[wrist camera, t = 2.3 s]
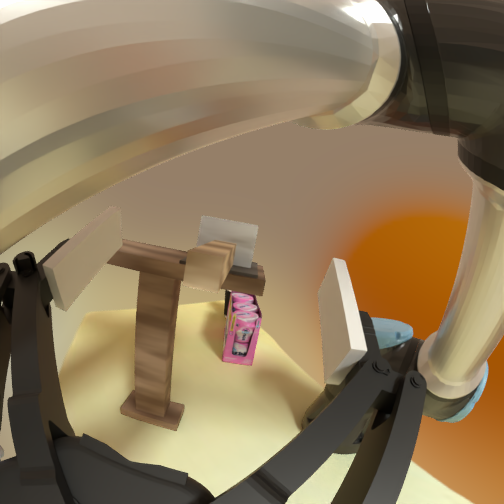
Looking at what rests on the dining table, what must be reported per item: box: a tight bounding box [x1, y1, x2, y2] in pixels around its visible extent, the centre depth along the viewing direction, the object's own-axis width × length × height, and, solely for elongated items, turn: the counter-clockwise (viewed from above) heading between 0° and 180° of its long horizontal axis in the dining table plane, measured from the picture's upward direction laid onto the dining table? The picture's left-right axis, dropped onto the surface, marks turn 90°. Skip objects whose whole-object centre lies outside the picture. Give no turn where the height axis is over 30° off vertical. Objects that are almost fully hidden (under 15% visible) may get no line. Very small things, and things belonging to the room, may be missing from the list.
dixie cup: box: [224, 290, 231, 318], centre depth 97 cm, size 8×8×11 cm
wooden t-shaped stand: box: [107, 239, 265, 431], centre depth 40 cm, size 12×28×28 cm, turn 89°
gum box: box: [222, 291, 262, 365], centre depth 74 cm, size 24×8×14 cm, turn 4°
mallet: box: [183, 216, 258, 293], centre depth 33 cm, size 22×8×6 cm, turn 179°
